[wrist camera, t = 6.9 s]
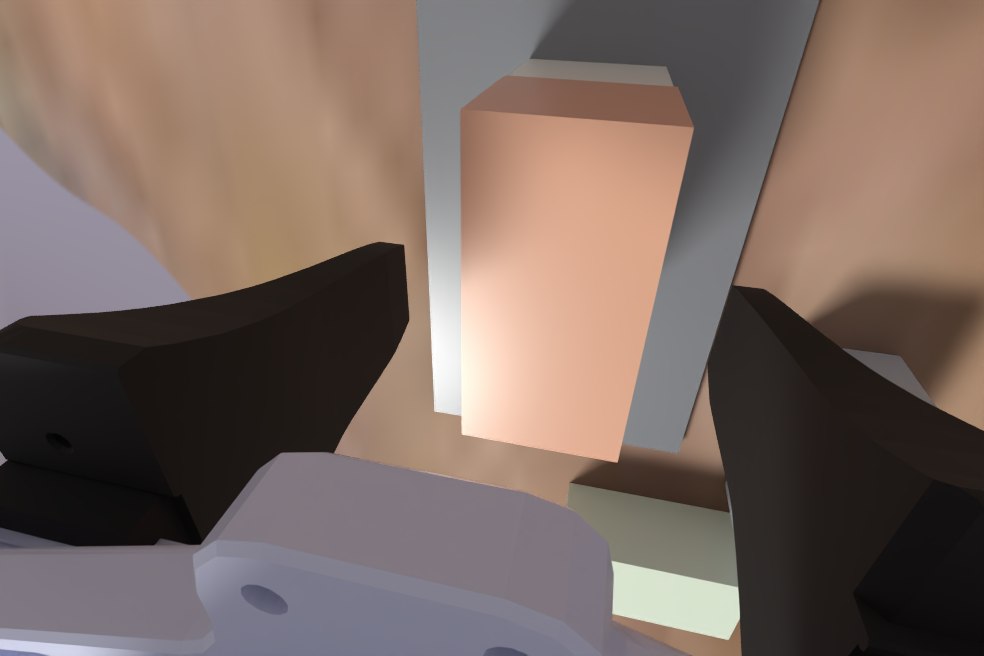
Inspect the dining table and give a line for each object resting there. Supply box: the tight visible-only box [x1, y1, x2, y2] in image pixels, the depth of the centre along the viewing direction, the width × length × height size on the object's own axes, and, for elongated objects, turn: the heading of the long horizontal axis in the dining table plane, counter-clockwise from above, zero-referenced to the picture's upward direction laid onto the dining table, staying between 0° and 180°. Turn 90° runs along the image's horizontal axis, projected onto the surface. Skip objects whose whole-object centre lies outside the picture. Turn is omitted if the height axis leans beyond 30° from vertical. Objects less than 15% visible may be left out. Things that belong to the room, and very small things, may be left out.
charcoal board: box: [416, 0, 819, 454], centre depth 18 cm, size 22×11×1 cm, turn 179°
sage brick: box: [566, 483, 740, 640], centre depth 25 cm, size 8×4×4 cm, turn 89°
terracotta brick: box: [460, 75, 694, 463], centre depth 13 cm, size 8×4×4 cm, turn 179°
